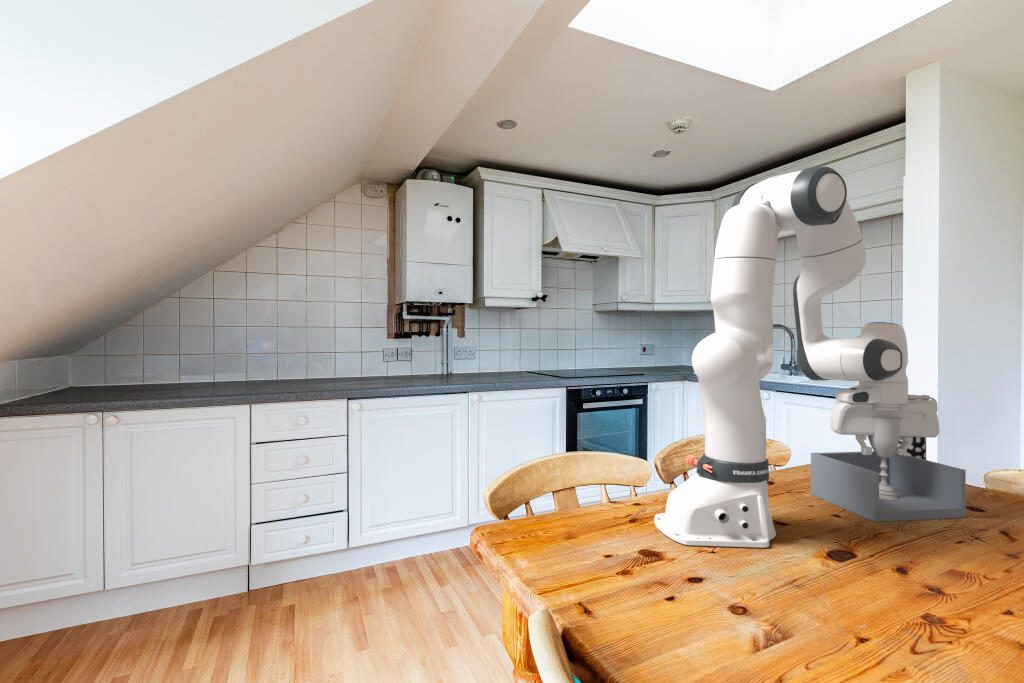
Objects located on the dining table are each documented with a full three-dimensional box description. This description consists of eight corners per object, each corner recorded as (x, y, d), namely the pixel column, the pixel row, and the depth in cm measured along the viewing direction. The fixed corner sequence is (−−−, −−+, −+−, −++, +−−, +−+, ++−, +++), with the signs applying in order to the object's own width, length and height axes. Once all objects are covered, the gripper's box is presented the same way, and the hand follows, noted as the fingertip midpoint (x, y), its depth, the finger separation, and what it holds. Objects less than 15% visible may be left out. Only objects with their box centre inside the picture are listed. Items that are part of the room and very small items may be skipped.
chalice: (909, 502, 105) (909, 419, 105) (872, 499, 107) (872, 418, 107) (894, 493, 112) (893, 415, 112) (859, 490, 114) (859, 413, 114)
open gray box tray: (874, 521, 99) (874, 473, 99) (810, 494, 117) (810, 453, 117) (965, 517, 101) (965, 469, 101) (889, 491, 119) (889, 450, 119)
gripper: (928, 393, 110) (928, 454, 110) (827, 392, 115) (827, 450, 115) (946, 396, 104) (946, 461, 104) (839, 394, 108) (839, 456, 108)
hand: (883, 455), depth 109 cm, fingers closed on chalice, 5 cm apart
